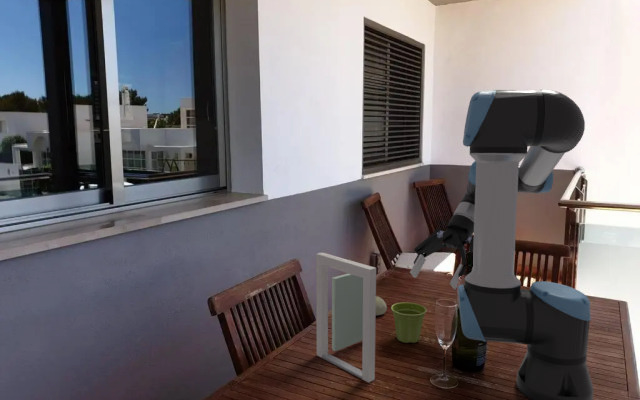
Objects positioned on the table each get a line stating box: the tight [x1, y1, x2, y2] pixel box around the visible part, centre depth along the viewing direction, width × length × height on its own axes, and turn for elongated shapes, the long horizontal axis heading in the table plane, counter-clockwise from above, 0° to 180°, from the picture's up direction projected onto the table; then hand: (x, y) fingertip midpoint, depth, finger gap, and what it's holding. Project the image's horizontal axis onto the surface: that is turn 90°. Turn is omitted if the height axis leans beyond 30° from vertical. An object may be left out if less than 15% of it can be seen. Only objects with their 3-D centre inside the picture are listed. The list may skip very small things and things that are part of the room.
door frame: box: [315, 252, 377, 383], centre depth 118 cm, size 18×2×26 cm, turn 41°
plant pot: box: [390, 301, 428, 344], centre depth 135 cm, size 9×9×9 cm
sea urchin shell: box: [376, 295, 388, 316], centre depth 155 cm, size 9×8×8 cm
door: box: [331, 273, 363, 352], centre depth 130 cm, size 13×3×19 cm, turn 131°
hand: (431, 280), depth 140 cm, fingers open, 13 cm apart
